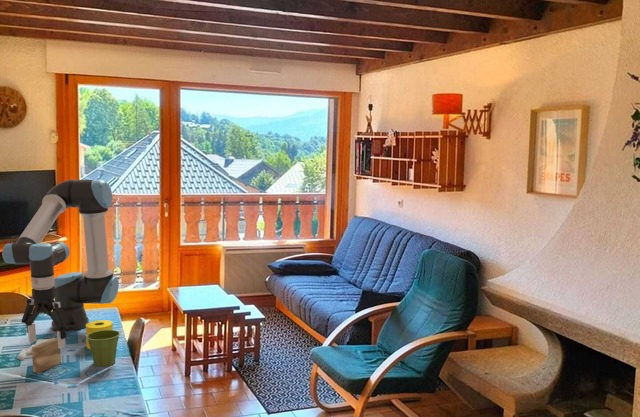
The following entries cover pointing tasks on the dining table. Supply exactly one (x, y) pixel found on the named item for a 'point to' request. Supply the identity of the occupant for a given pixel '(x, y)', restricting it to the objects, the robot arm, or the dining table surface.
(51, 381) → the mat
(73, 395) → the dining table surface
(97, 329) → the yellow paper roll
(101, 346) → the plant pot
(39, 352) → the rectangular block
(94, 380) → the dining table surface
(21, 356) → the light grey toy spaceship
